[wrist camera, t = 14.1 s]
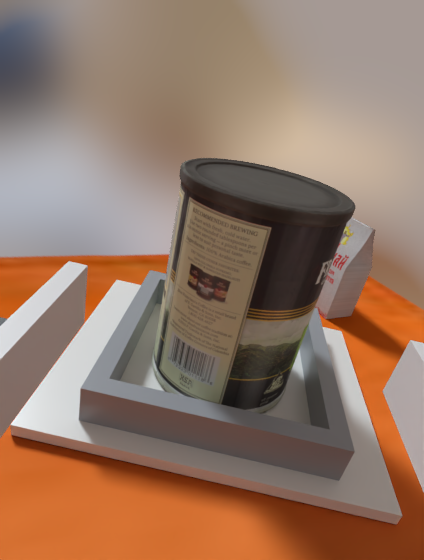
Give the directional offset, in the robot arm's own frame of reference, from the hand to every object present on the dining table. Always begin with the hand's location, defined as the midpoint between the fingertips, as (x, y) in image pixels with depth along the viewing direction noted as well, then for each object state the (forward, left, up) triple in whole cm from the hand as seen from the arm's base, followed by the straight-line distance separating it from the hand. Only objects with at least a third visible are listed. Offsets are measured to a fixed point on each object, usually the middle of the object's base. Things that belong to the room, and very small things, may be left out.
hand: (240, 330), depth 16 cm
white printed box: (+10, +26, -11) cm, 30 cm away
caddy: (0, +10, -11) cm, 15 cm away
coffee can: (0, +10, -10) cm, 14 cm away
